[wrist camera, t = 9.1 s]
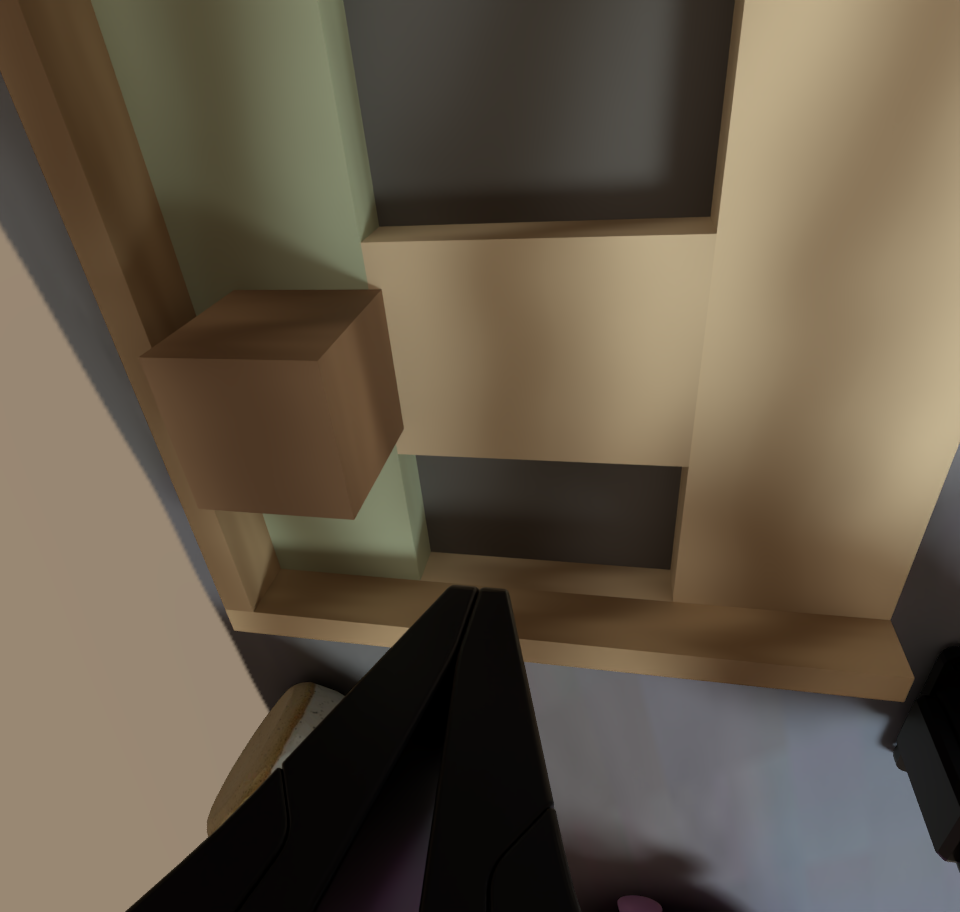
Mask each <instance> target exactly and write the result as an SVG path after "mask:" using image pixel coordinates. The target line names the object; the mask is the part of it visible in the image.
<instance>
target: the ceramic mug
mask: <svg viewBox="0 0 960 912" xmlns="http://www.w3.org/2000/svg"><path fill="white" fill-rule="evenodd" d="M344 697H345V696H344V695H342V694H341V693H339V692H337V691H335V690H332V689H329V688H326V687H324V686H321V685H318V684H315V683H312V682H304V683H299V684H296V685H294V686H292V687H291V688H290V689H288V690H287V691H286V692H285V694H284V695H283V696H282V697H281V698H280V699H279V700H278V702H277V703H276V704H275V706H274V707H273V708H272V709H271V711H270V712H269V713H268V715H267V716H266V717H265V719H264V720H263V722H262V723H261V725H260V726H259V727H258V729H257V730H256V732H255V733H254V735H253V736H252V738H251V739H250V741H249V743H248V744H247V746H246V747H245V749H244V750H243V752H242V753H241V755H240V757H239V758H238V760H237V762H236V763H235V765H234V766H233V768H232V770H231V771H230V773H229V775H228V777H227V778H226V780H225V782H224V784H223V786H222V788H221V790H220V792H219V794H218V796H217V797H216V799H215V801H214V804H213V806H212V808H211V811H210V814H209V817H208V820H207V833H208V837H209V836H210V835H211V834H212V833H213V832H214V831H215V830H216V829H218V828H219V827H220V826H221V825H222V824H223V823H224V822H225V821H226V820H227V819H228V818H229V817H230V816H231V815H232V814H233V813H234V812H235V811H236V810H237V809H238V808H239V807H240V806H241V805H242V804H243V803H244V802H245V801H246V800H247V799H248V798H249V797H250V796H251V795H252V794H253V793H254V792H255V791H256V789H257V788H258V787H259V786H260V785H261V784H262V783H263V782H264V781H265V780H266V779H267V778H268V777H269V776H270V775H271V774H272V773H273V771H274V770H275V769H276V768H282V762H283V761H284V760H285V759H286V758H287V757H288V756H289V755H290V754H291V753H292V752H293V751H294V750H295V749H296V748H297V746H298V745H299V744H300V743H301V742H302V741H303V740H304V739H305V738H306V737H307V736H308V735H309V734H310V733H311V732H312V731H313V730H314V729H315V727H316V726H317V725H318V724H319V723H320V722H321V721H322V720H323V719H324V718H325V717H326V716H327V715H328V714H329V713H330V712H331V711H332V709H333V708H334V707H335V706H336V705H337V704H338V703H339V702H340V701H341V700H342V699H343V698H344Z"/></svg>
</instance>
